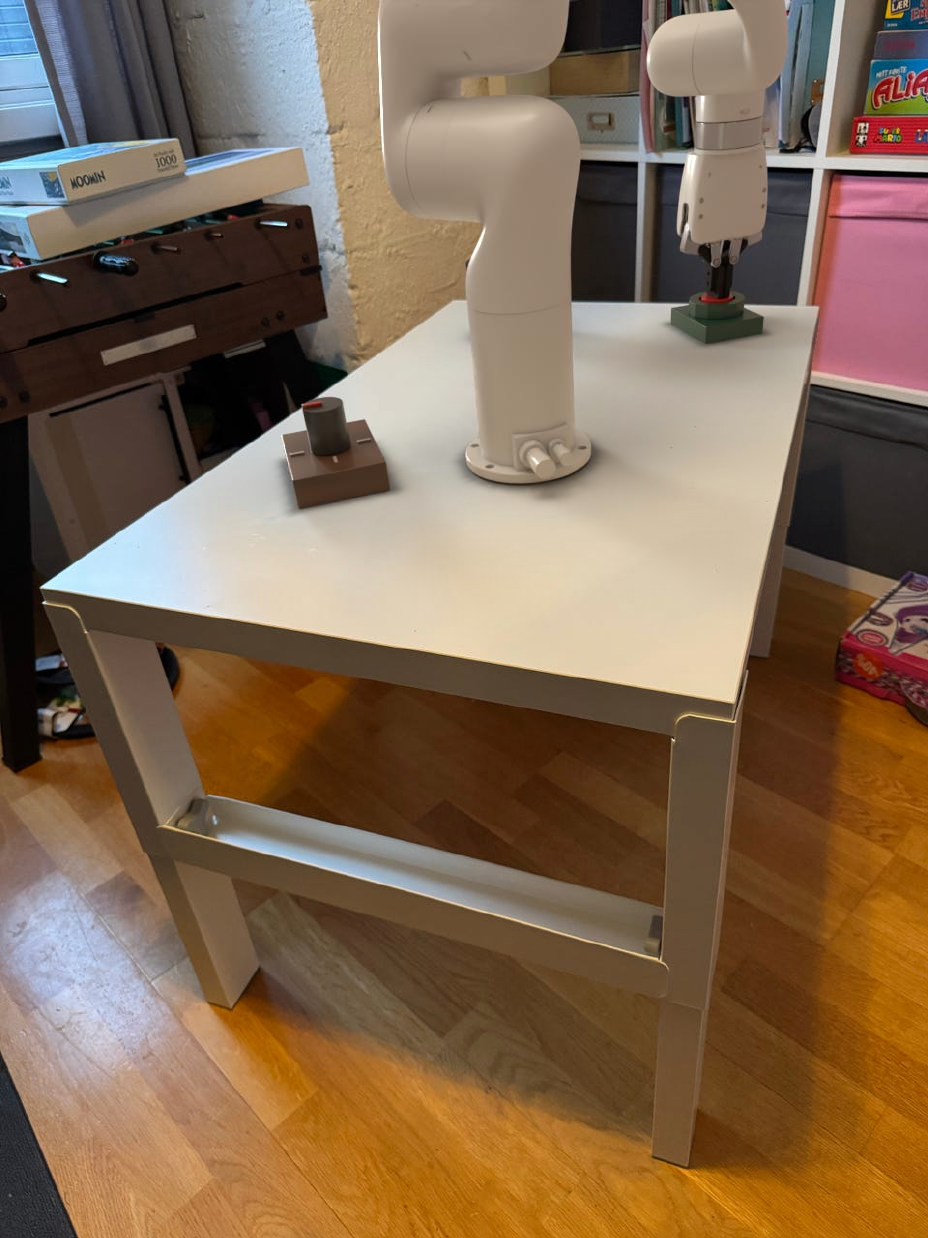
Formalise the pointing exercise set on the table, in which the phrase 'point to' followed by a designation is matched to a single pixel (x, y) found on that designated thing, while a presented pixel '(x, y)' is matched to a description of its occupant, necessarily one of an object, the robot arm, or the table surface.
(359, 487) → the control panel
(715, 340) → the button housing
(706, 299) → the button
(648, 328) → the table surface
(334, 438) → the dial
